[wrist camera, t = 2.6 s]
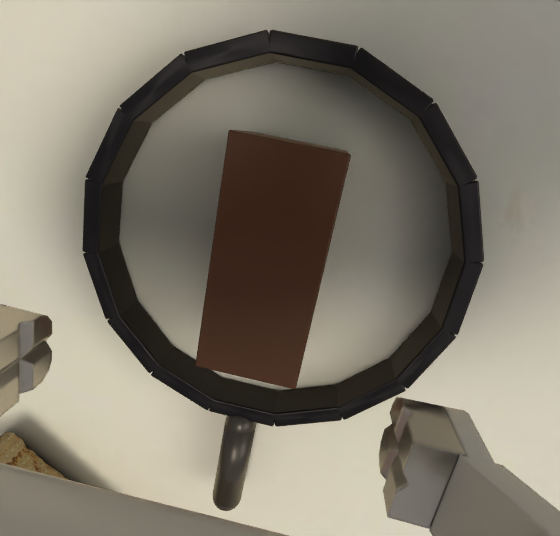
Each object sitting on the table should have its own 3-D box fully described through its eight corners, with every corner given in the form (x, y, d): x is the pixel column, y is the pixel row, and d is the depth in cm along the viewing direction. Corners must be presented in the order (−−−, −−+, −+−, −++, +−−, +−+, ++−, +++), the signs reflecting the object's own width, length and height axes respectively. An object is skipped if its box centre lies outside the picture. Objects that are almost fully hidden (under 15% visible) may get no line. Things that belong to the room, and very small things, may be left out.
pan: (116, 10, 18) (84, -9, 16) (527, 87, 17) (557, 80, 15) (93, 448, 25) (69, 478, 23) (375, 518, 24) (379, 558, 22)
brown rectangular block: (249, 131, 19) (228, 129, 15) (347, 150, 18) (351, 154, 15) (218, 326, 22) (195, 366, 18) (301, 345, 22) (295, 390, 18)
